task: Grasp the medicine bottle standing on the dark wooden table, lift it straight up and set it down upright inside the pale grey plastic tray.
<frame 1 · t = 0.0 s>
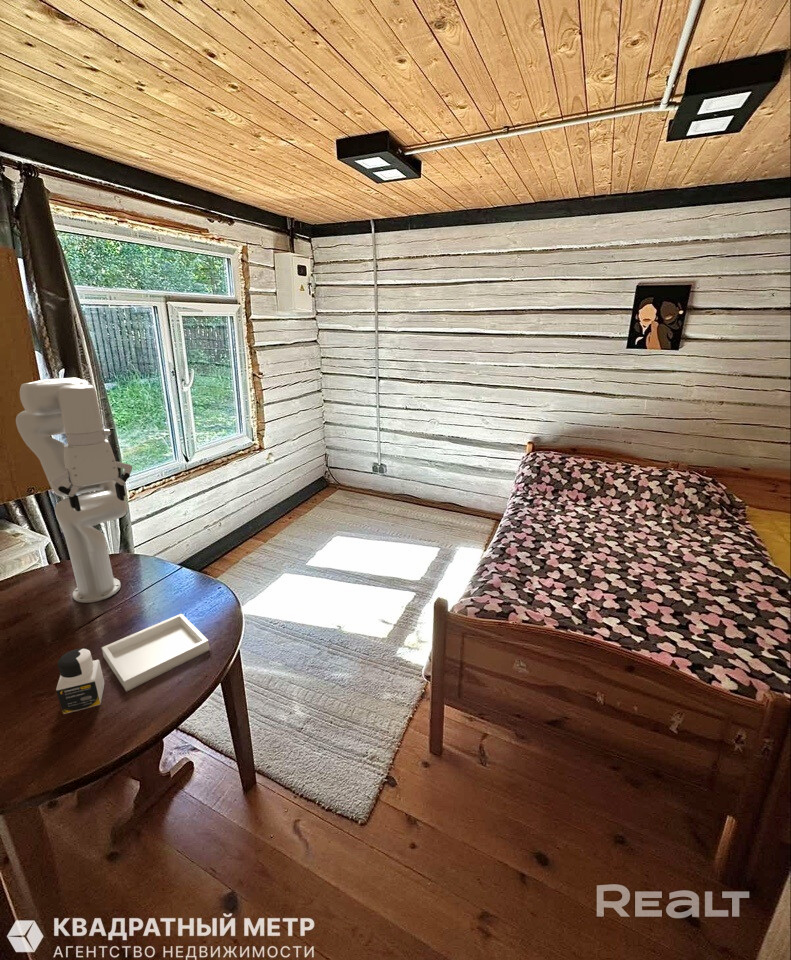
hand: (99, 504, 117), 37 cm above the table, tool pointing down, fingers open, 9 cm apart
tray: (157, 653, 120), on the table
medicine bottle: (84, 699, 106), on the table
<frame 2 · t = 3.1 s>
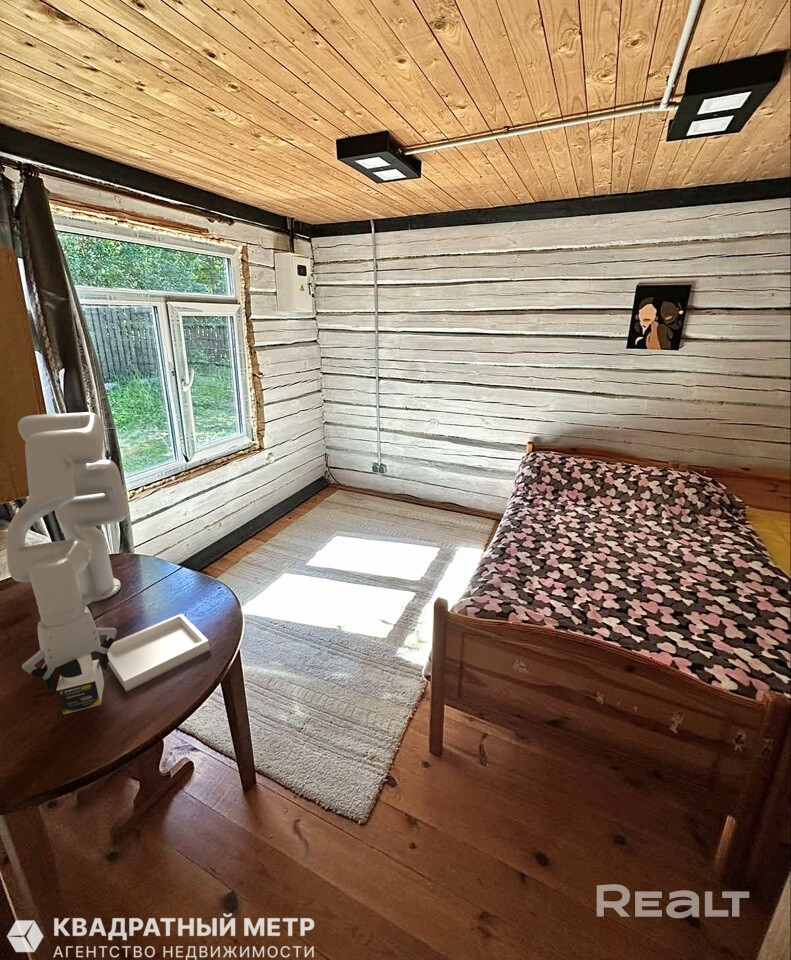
hand: (79, 677, 104), 6 cm above the table, tool pointing down, fingers open, 9 cm apart
nothing on the table moved.
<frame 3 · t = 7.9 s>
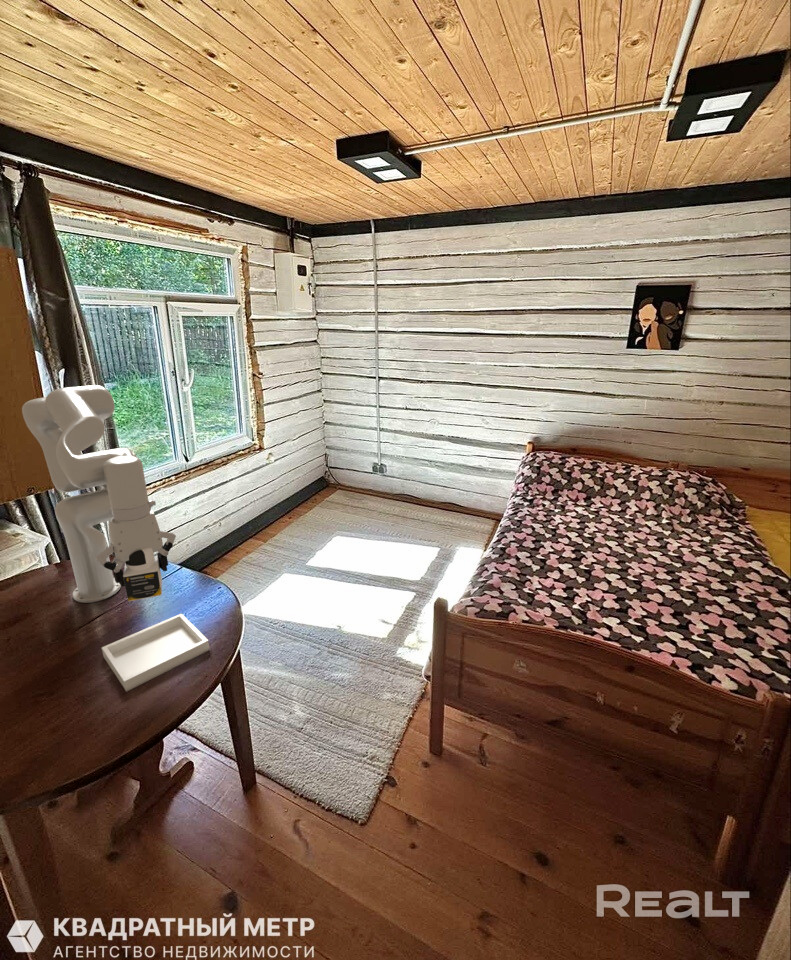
hand: (143, 576, 112), 23 cm above the table, tool pointing down, fingers closed on medicine bottle, 9 cm apart
medicine bottle: (145, 591, 113), point 19 cm above the table, touching gripper
when the fingers open (6 cm above the table, at t = 12.1 s): medicine bottle drops 1 cm, resting on tray.
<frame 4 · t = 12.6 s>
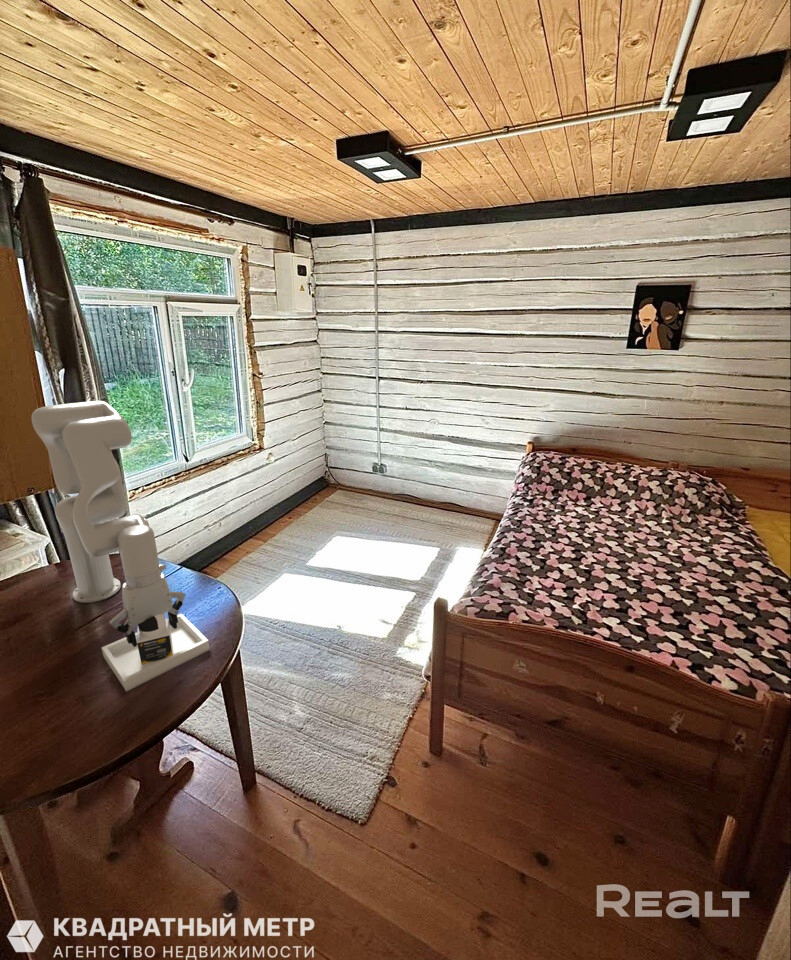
hand: (154, 634, 118), 6 cm above the table, tool pointing down, fingers open, 9 cm apart
medicine bottle: (157, 653, 120), resting on tray
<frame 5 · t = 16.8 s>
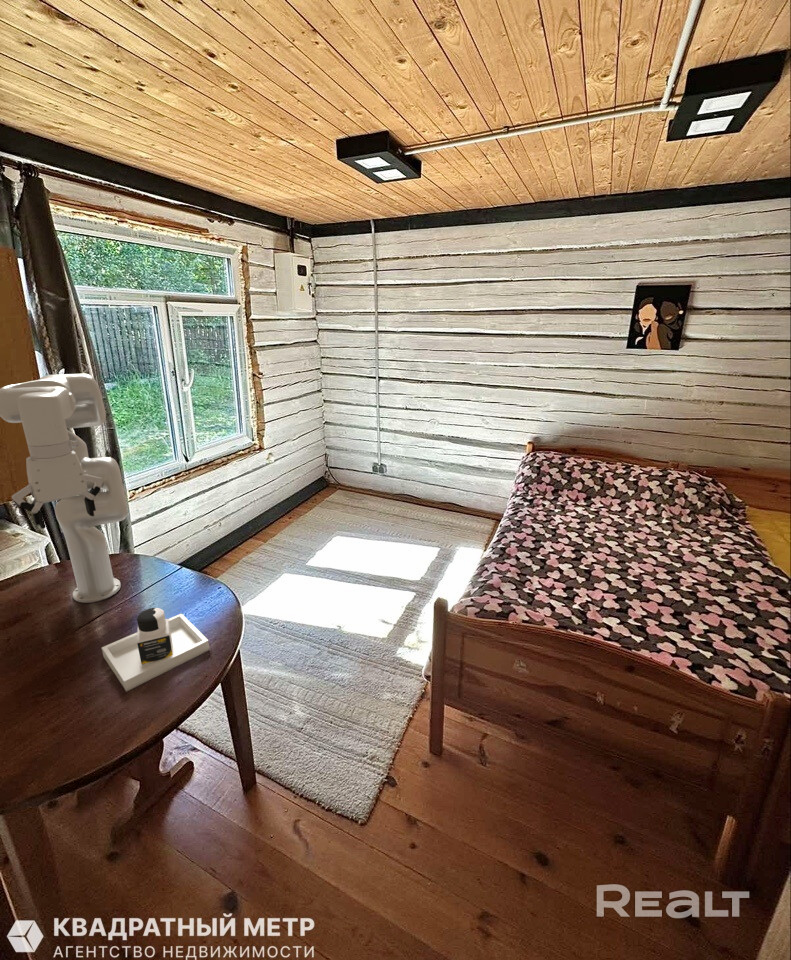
hand: (67, 520, 109), 36 cm above the table, tool pointing down, fingers open, 9 cm apart
nothing on the table moved.
at the end: medicine bottle inside the target area on the tray (0.3 cm from its centre), point 0.3 cm above the tray's base; medicine bottle tilted 0°; the gripper is holding nothing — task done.
